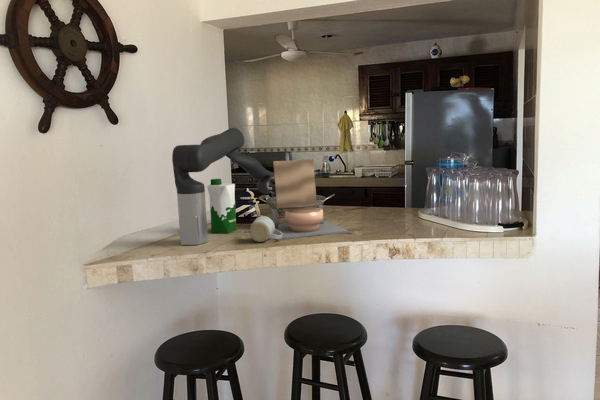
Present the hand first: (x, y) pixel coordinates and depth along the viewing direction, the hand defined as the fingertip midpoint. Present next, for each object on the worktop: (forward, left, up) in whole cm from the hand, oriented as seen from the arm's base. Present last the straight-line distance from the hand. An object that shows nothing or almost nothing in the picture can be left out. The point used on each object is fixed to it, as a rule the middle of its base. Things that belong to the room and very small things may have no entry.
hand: (289, 189), depth 184 cm
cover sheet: (-8, -4, +3) cm, 9 cm away
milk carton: (-15, +23, -14) cm, 31 cm away
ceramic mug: (-31, +3, -14) cm, 34 cm away
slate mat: (-13, -7, -14) cm, 20 cm away
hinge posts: (-9, -4, -14) cm, 17 cm away
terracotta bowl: (-15, -8, -14) cm, 22 cm away
